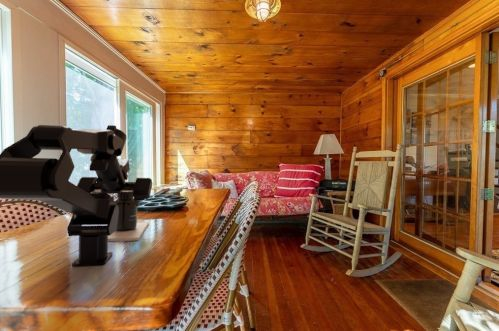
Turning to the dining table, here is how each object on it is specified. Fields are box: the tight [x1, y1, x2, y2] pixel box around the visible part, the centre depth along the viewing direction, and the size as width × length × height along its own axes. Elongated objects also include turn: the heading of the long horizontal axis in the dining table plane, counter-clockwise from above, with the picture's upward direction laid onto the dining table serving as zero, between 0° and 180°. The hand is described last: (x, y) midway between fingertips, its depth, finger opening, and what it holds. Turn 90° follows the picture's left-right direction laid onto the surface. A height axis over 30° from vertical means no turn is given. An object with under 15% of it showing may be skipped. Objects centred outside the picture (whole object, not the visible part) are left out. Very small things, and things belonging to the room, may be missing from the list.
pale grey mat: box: [108, 221, 150, 242], centre depth 83 cm, size 18×12×1 cm, turn 12°
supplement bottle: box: [114, 190, 138, 231], centre depth 84 cm, size 7×7×12 cm
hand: (122, 205), depth 80 cm, fingers open, 9 cm apart
